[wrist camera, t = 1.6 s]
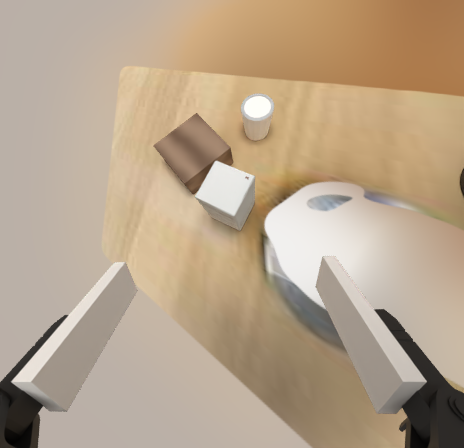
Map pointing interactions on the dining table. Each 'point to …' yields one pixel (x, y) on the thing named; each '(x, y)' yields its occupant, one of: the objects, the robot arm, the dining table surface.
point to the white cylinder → (257, 115)
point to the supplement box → (227, 194)
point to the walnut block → (193, 151)
